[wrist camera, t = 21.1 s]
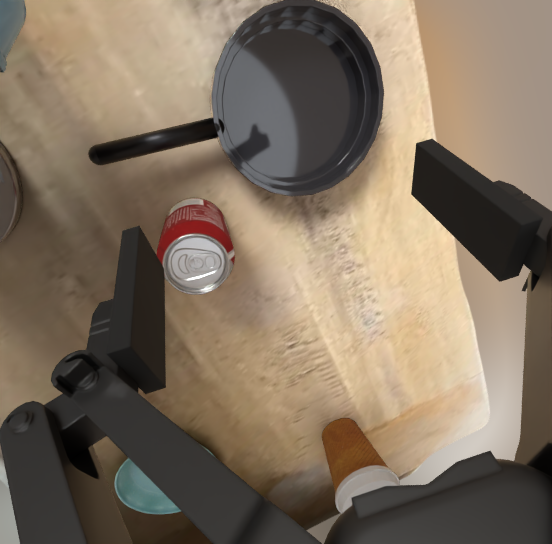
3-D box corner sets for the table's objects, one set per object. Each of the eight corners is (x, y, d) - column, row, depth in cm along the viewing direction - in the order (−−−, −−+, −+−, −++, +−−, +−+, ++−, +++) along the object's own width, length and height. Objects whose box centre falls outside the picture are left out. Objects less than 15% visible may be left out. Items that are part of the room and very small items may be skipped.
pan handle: (221, 115, 34) (222, 115, 33) (226, 134, 35) (227, 135, 34) (87, 146, 33) (82, 148, 31) (96, 166, 34) (91, 168, 32)
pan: (183, 145, 37) (182, 148, 33) (256, -31, 32) (263, -49, 29) (317, 212, 43) (329, 221, 39) (394, 72, 38) (415, 68, 35)
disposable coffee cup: (352, 400, 57) (390, 466, 46) (374, 433, 61) (413, 501, 50) (302, 431, 57) (327, 504, 46) (327, 461, 61) (355, 535, 50)
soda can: (160, 198, 38) (147, 229, 28) (223, 194, 40) (234, 223, 29) (169, 256, 41) (161, 305, 30) (227, 251, 42) (239, 296, 32)
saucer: (238, 456, 56) (240, 471, 54) (171, 509, 58) (170, 526, 55) (168, 411, 50) (167, 426, 47) (95, 473, 51) (90, 490, 49)
